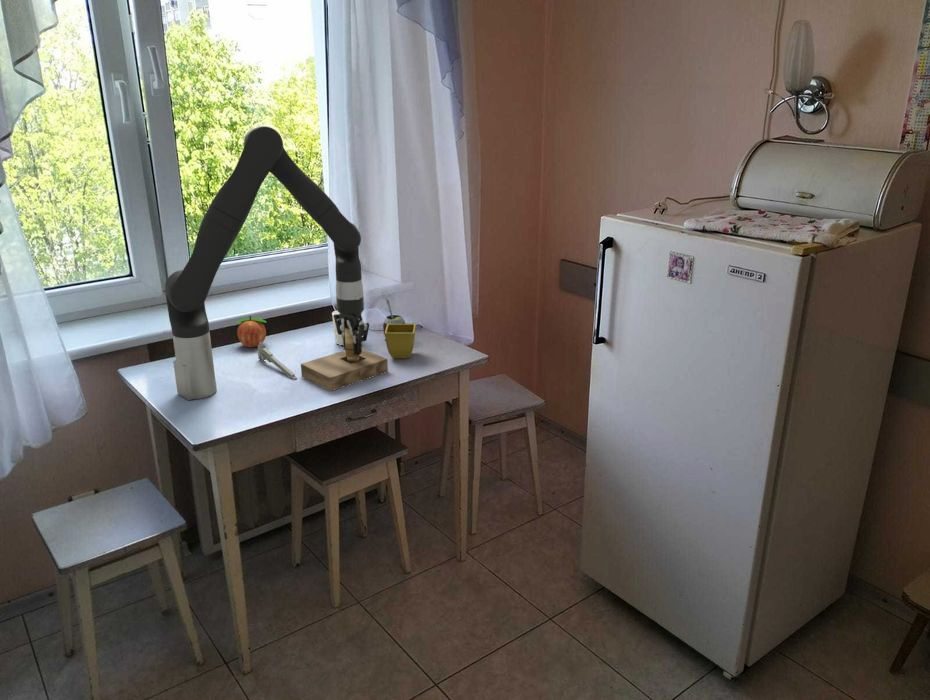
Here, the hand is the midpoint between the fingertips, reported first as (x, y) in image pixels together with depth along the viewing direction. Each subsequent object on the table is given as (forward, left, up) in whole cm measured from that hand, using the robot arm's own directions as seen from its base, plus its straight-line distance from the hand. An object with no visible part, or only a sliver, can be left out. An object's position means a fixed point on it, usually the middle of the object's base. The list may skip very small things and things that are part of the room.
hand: (352, 352), depth 216 cm
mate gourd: (+25, +12, -6) cm, 28 cm away
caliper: (-15, +17, -7) cm, 23 cm away
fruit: (-10, +39, -6) cm, 41 cm away
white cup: (+13, +21, -6) cm, 25 cm away
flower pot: (+18, 0, -6) cm, 19 cm away
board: (-3, 0, -6) cm, 7 cm away
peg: (0, 0, -3) cm, 3 cm away
